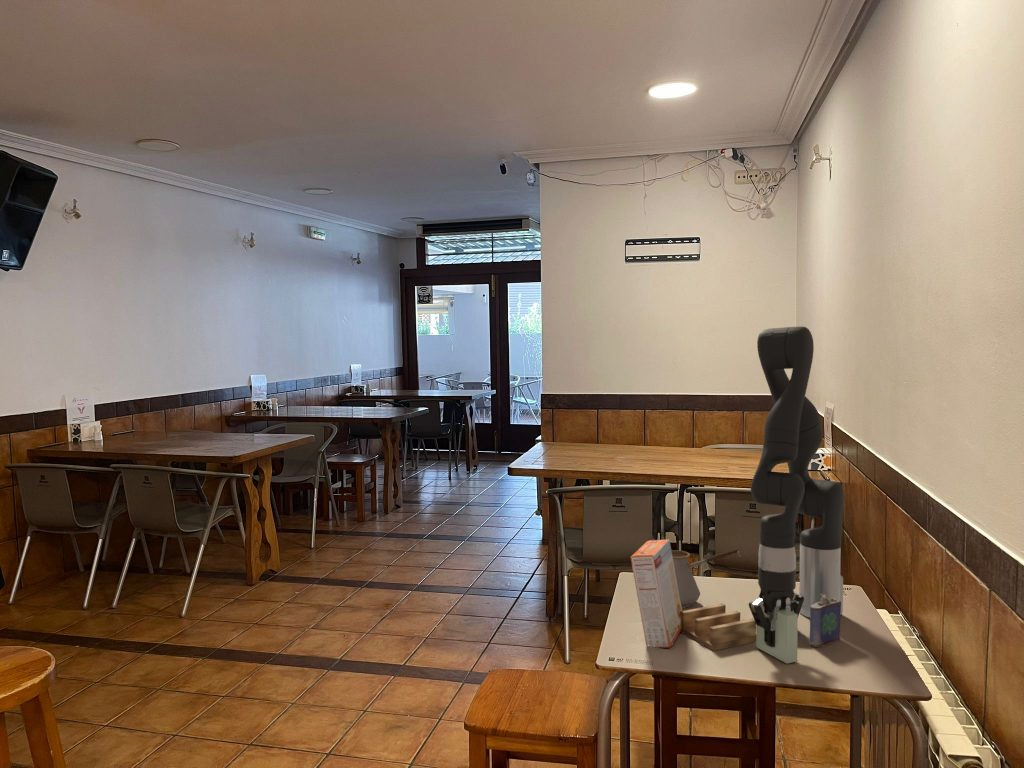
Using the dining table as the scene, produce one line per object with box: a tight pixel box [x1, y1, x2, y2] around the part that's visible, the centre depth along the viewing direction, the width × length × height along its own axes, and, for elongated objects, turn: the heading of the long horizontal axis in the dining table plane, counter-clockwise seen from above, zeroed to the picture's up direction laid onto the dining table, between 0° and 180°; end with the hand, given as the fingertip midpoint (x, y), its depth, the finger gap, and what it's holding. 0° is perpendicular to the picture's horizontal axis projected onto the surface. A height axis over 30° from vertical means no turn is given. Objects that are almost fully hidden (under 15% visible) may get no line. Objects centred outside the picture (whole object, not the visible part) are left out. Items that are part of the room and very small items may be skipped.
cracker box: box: [630, 539, 683, 649], centre depth 166 cm, size 14×6×21 cm, turn 153°
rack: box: [680, 603, 756, 651], centre depth 166 cm, size 13×13×4 cm
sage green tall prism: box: [755, 609, 799, 664], centre depth 155 cm, size 3×9×10 cm, turn 23°
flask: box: [809, 594, 841, 649], centre depth 162 cm, size 9×3×11 cm, turn 121°
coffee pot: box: [671, 548, 742, 609], centre depth 186 cm, size 21×12×15 cm, turn 75°
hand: (776, 644), depth 155 cm, fingers closed on sage green tall prism, 2 cm apart
